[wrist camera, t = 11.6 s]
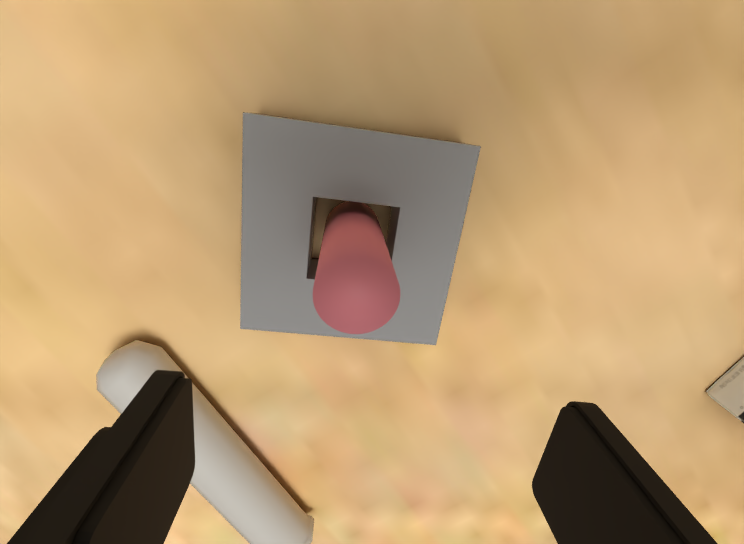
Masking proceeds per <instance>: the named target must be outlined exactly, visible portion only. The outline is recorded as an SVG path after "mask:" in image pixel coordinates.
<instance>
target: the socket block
mask: <svg viewBox="0 0 744 544" xmlns="http://www.w3.org/2000/svg"><path fill="white" fill-rule="evenodd" d="M480 148H481V146H476V145H470V144H465V143H459V142H452V141H445V140H438V139H431V138H424V137H417V136H410V135H403V134H396V133H389V132H382V131H375V130H368V129H361V128H354V127H347V126H340V125H333V124H326V123H319V122H312V121H305V120H298V119H291V118H284V117H277V116H270V115H263V114H255V113H244V112H243V159H242V239H241V318H240V329H250V330H262V331H274V332H286V333H298V334H310V335H322V336H334V337H346V338H358V339H370V340H382V341H394V342H406V343H418V344H430V345H436V342H437V338H438V334H439V329H440V325H441V320H442V316H443V311H444V307H445V303H446V298H447V294H448V289H449V285H450V280H451V276H452V272H453V267H454V263H455V258H456V254H457V249H458V245H459V241H460V236H461V232H462V227H463V223H464V218H465V214H466V210H467V205H468V201H469V196H470V192H471V187H472V183H473V179H474V174H475V170H476V165H477V161H478V156H479V152H480ZM316 197H320V198H328V199H336V200H344V201H353V202H361V203H369V204H377V205H385V206H392V207H391V213H390V220H389V226H388V233H387V239H386V246H387V249H388V252H389V255H390V258H391V261H392V264H393V267H394V270H395V273H396V276H397V279H398V282H399V285H400V302H399V305H398V308H397V310H396V312H395V314H394V315H393V317H392V318H391V319H390V320H389V321H388V322H387V323H386V324H385V325H383V326H382V327H380V328H379V329H376V330H374V331H372V332H369V333H364V334H348V333H343V332H340V331H338V330H335V329H333V328H332V327H330V326H329V325H327V324H326V323H325V322H324V321H323V320H322V319H321V318H320V316H319V315H318V313H317V311H316V309H315V307H314V303H313V286H314V281H315V276H316V271H317V266H318V261H319V259H311V258H312V246H313V234H314V221H315V209H316Z"/></svg>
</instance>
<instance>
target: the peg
mask: <svg viewBox="0 0 744 544" xmlns="http://www.w3.org/2000/svg"><path fill="white" fill-rule="evenodd" d="M399 302H400V285H399V282H398V279H397V276H396V273H395V270H394V267H393V264H392V261H391V258H390V255H389V252H388V249H387V246H386V243H385V240H384V237H383V233H382V230H381V227H380V224H379V221H378V218H377V216H376V214H375V213H374V211H373V210H372V209H371V208H370V207H369V206H367V205H365V204H363V203H361V202H353V201H348V202H344V203H341V204H339V205H337V206H336V207H335V208H334V209H333V210H332V211H331V212H330V214H329V215H328V217H327V220H326V225H325V230H324V235H323V240H322V245H321V251H320V256H319V261H318V266H317V271H316V276H315V281H314V286H313V303H314V307H315V309H316V311H317V313H318V315H319V316H320V318H321V319H322V320H323V321H324V322H325V323H326V324H327V325H329V326H330V327H332V328H333V329H335V330H338V331H340V332H343V333H348V334H364V333H369V332H372V331H374V330H376V329H379V328H380V327H382V326H383V325H385V324H386V323H387V322H388V321H389V320H390V319H391V318H392V317H393V315H394V314H395V312H396V310H397V308H398V305H399Z"/></svg>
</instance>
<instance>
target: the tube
mask: <svg viewBox="0 0 744 544" xmlns="http://www.w3.org/2000/svg"><path fill="white" fill-rule="evenodd" d="M156 370H168V371H181V372H183V371H182V370H181V369H180V368H179V367H178V365H177V364H176V363H175V362H174V361H173V360H172V359H171V357H170V356H169V355H168V354H167V353H166V352H165V350H164V349H163V348H162V347H160V346H156V345H153V344H149V343H146V342H142V341H139V340H135V341H133V342H131V343H129V344H127V345H125V346H123V347H121V348H119V349H117V350H115V351H113V352H112V353H111V354H110V355H109V356H108V357H107V358H106V359H105V360H104V362H103V364H102V366H101V367H100V369H99V371H98V373H97V390H98V391H99V392H100V393H101V394H102V395H103V396H104V397H105V398H106V399H107V400H108V401H109V402H110V403H111V404H112V405H113V406H114V407H115V408H116V409H117V410H118V411H119V412H120V413H121V414H122V413H123V411H124V410H125V409H126V407H127V406H128V405H129V403H130V402H131V401H132V400H133V398H134V397H135V396H136V394H137V393H138V392H139V391H140V389H141V388H142V387H143V385H144V384H145V383H146V381H147V380H148V379H149V378H150V376H151V375H152V374H153V373H154V372H155V371H156ZM183 373H184V372H183ZM184 375H185V374H184ZM185 378H188V377H187V376H186V375H185ZM192 392H193V417H194V442H195V469H194V473H193V477H192V479H191V482H190V484H191V485H192V486H193V487H194V488H195V489H196V490H197V491H198V492H199V493H200V494H201V495H202V496H203V497H204V498H205V499H206V500H207V501H208V502H209V503H210V504H211V505H212V506H213V507H214V508H215V509H216V510H217V511H218V512H219V513H220V514H221V515H222V516H223V517H224V518H225V519H226V520H227V521H228V522H229V523H230V524H231V525H232V526H233V527H234V528H235V529H236V530H237V531H238V532H239V533H240V534H241V535H242V536H243V537H244V538H245V539H246V540H247V541H248V542H249V543H250V544H311V542H312V538H313V526H314V518H313V517H312V516H310V515H307V514H306V513H305V512H304V511H303V510H302V509H301V508H300V506H299V505H298V504H297V503H296V502H295V501H294V500H293V498H292V497H291V496H290V495H289V494H288V493H287V491H286V490H285V489H284V488H283V487H282V486H281V485H280V483H279V482H278V481H277V480H276V479H275V478H274V476H273V475H272V474H271V473H270V472H269V471H268V469H267V468H266V467H265V466H264V465H263V464H262V463H261V461H260V460H259V459H258V458H257V457H256V456H255V454H254V453H253V452H252V451H251V450H250V449H249V448H248V446H247V445H246V444H245V443H244V442H243V441H242V439H241V438H240V437H239V436H238V435H237V434H236V433H235V431H234V430H233V429H232V428H231V427H230V426H229V424H228V423H227V422H226V421H225V420H224V419H223V417H222V416H221V415H220V414H219V413H218V412H217V411H216V409H215V408H214V407H213V406H212V405H211V404H210V402H209V401H208V400H207V399H206V398H205V397H204V396H203V394H202V393H201V392H200V391H199V390H198V389H197V387H196V386H195V385H194V384H193V383H192Z"/></svg>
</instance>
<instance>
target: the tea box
mask: <svg viewBox="0 0 744 544" xmlns="http://www.w3.org/2000/svg"><path fill="white" fill-rule="evenodd" d="M706 392H707V393H708V395H709V396H710V397H711V398H712V399H713V400H715V401H716V402H717V403H718V404H720V405H721V406H722V407H724V408H725V409H726V410H727V411H729V412H730V413H731V414H733V415H734V416H735V417H736V418H738V419H739V420H740V421H741V422H743V423H744V357H743V358H742V359H741V360H740V361H739V362H737V363H736V364H735V365H734V366H733V367H732V368H731V369H730V370H728V371H727V372H726V373H725V374H724V375H723V376H722V377H721V378H720V379H718V380H717V381H716V382H715V383H714V384H713V385H712V386H711V387H710V388H709V389H708V390H707V391H706Z"/></svg>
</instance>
